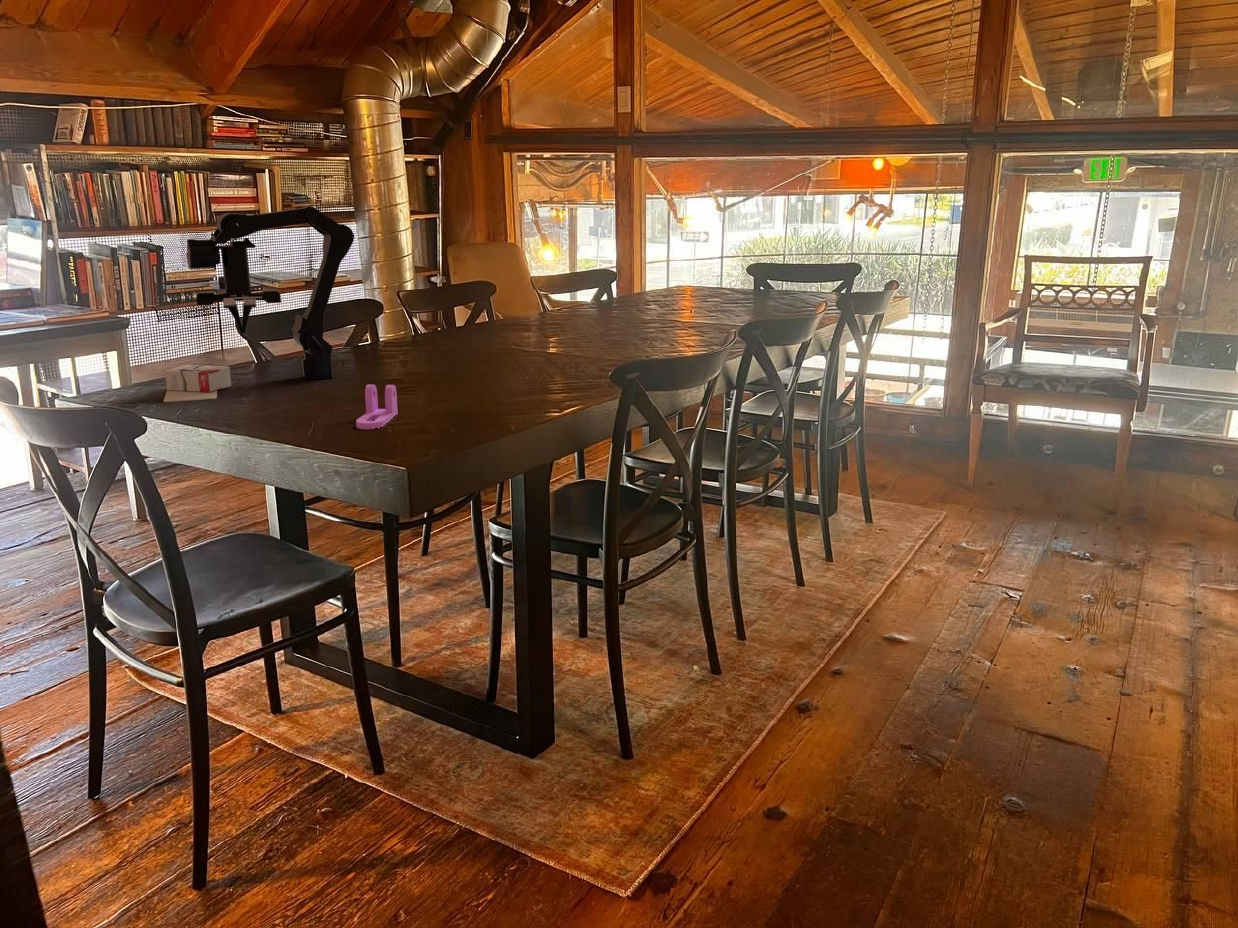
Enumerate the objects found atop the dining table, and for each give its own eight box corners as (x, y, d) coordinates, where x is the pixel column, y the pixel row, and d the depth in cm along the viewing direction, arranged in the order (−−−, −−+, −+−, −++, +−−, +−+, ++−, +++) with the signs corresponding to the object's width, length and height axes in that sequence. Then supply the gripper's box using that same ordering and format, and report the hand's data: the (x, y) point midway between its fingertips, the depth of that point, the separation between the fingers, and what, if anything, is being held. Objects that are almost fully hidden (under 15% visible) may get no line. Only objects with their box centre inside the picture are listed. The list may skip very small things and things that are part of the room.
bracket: (372, 415, 199) (369, 383, 197) (397, 415, 199) (395, 383, 197) (352, 429, 187) (350, 395, 185) (380, 430, 186) (378, 396, 184)
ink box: (208, 372, 216) (163, 370, 218) (210, 393, 217) (165, 390, 219) (230, 366, 224) (186, 364, 226) (232, 385, 225) (188, 383, 227)
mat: (217, 385, 227) (217, 384, 227) (216, 398, 213) (216, 397, 212) (168, 388, 223) (168, 387, 223) (163, 402, 209) (163, 401, 209)
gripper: (276, 264, 232) (282, 327, 236) (194, 266, 225) (202, 330, 230) (277, 268, 222) (284, 333, 226) (192, 269, 215) (200, 336, 220)
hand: (242, 333), depth 226 cm, fingers closed
